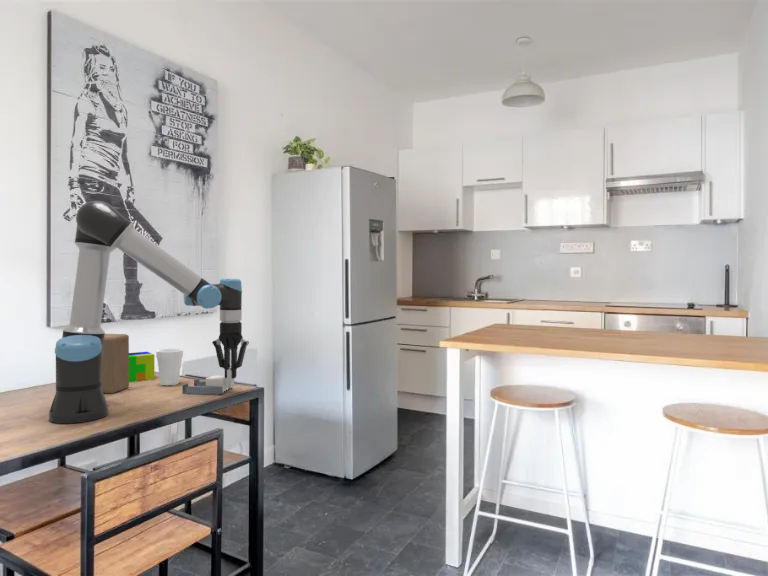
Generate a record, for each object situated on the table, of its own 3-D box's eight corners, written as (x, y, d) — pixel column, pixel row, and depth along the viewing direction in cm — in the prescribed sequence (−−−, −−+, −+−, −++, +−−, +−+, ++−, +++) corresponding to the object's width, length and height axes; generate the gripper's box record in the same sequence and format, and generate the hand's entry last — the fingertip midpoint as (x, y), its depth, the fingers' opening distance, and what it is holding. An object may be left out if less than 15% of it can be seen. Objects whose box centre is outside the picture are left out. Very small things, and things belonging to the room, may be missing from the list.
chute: (220, 395, 182) (220, 386, 182) (182, 393, 183) (182, 384, 183) (232, 388, 192) (232, 380, 192) (196, 387, 194) (196, 378, 193)
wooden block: (130, 387, 192) (129, 333, 191) (113, 394, 182) (113, 337, 181) (104, 387, 193) (104, 333, 192) (86, 393, 183) (86, 336, 182)
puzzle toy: (147, 375, 215) (147, 351, 215) (154, 379, 208) (154, 354, 207) (120, 378, 209) (120, 353, 209) (127, 382, 201) (127, 357, 201)
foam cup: (159, 387, 192) (159, 352, 192) (153, 383, 200) (153, 349, 199) (185, 384, 198) (185, 350, 197) (179, 380, 205) (179, 347, 205)
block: (221, 393, 184) (221, 379, 184) (205, 392, 185) (205, 378, 184) (228, 389, 190) (228, 376, 190) (212, 389, 191) (212, 375, 190)
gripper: (252, 321, 189) (251, 385, 190) (217, 320, 190) (217, 384, 191) (244, 322, 181) (244, 390, 182) (208, 322, 183) (208, 388, 184)
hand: (230, 387), depth 187 cm, fingers closed
